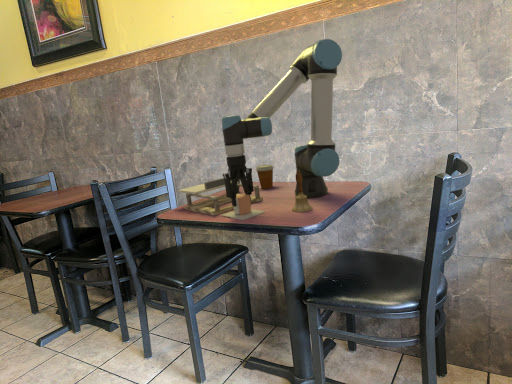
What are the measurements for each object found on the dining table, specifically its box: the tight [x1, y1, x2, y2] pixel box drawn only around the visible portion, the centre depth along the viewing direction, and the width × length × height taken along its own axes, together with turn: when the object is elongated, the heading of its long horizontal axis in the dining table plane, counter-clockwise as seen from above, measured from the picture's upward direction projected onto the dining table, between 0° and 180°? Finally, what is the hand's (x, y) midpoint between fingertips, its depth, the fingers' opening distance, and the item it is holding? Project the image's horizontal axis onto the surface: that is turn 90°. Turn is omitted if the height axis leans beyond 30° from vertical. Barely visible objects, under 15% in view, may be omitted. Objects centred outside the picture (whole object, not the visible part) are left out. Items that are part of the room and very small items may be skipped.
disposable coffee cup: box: [255, 164, 274, 190], centre depth 200 cm, size 10×10×12 cm
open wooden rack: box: [184, 183, 264, 216], centre depth 173 cm, size 24×28×7 cm
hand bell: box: [291, 170, 314, 213], centre depth 147 cm, size 8×8×16 cm
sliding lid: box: [177, 177, 238, 195], centre depth 180 cm, size 15×25×4 cm, turn 131°
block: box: [233, 193, 252, 215], centre depth 151 cm, size 5×5×7 cm
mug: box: [230, 175, 241, 194], centre depth 200 cm, size 8×12×10 cm
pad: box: [220, 208, 266, 221], centre depth 152 cm, size 14×12×1 cm
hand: (242, 211), depth 151 cm, fingers closed on block, 5 cm apart
